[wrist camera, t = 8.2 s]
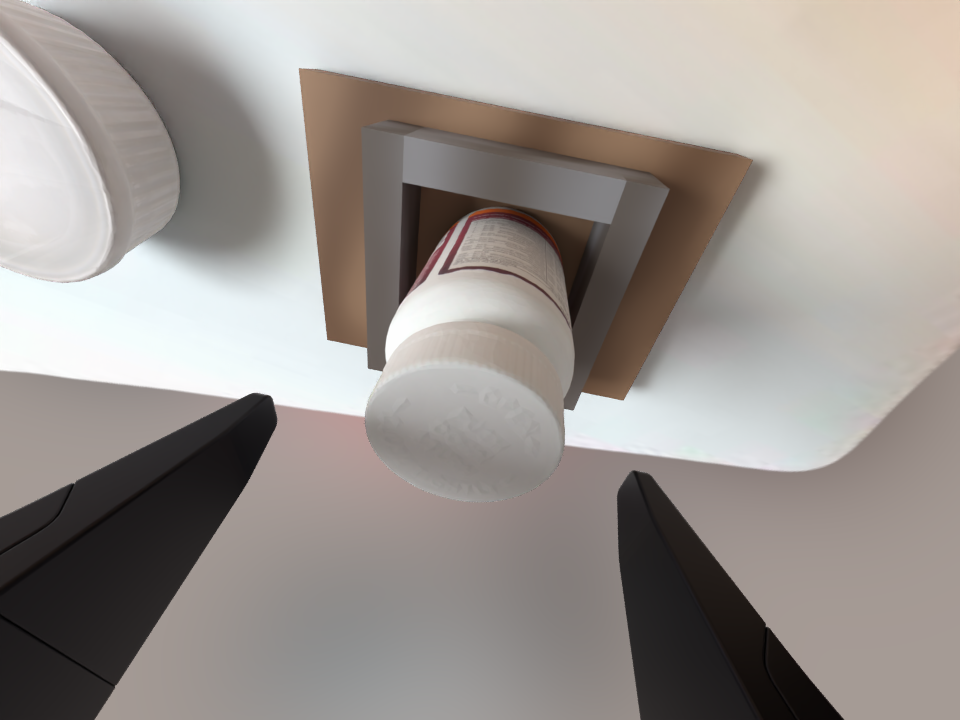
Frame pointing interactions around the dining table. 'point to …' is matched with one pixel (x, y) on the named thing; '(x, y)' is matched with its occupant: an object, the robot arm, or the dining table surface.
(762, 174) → the dining table surface
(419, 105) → the socket board
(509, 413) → the pill bottle
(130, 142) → the ramekin
